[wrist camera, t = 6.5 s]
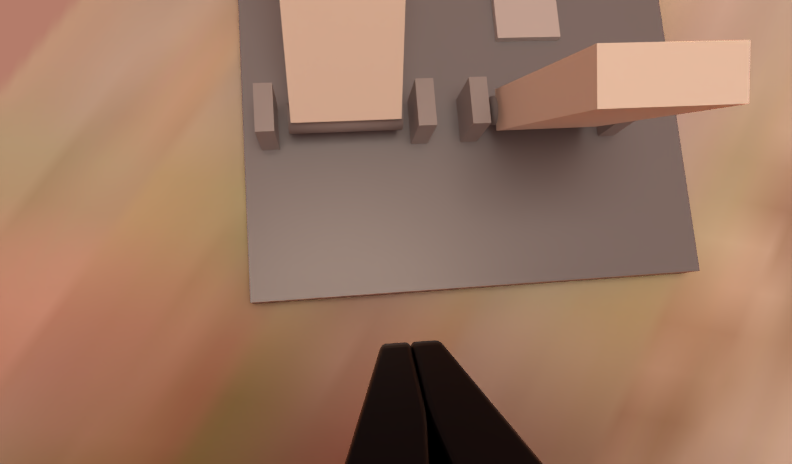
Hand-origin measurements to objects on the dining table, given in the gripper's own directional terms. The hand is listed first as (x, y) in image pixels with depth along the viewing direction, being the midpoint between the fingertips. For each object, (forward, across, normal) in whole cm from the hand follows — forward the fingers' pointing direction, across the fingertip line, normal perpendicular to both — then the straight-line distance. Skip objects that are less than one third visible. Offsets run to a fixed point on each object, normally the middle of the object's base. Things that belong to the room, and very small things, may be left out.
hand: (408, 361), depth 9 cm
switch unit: (+14, -3, +3) cm, 15 cm away
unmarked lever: (+13, -7, +2) cm, 15 cm away
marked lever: (+13, 0, +2) cm, 13 cm away
